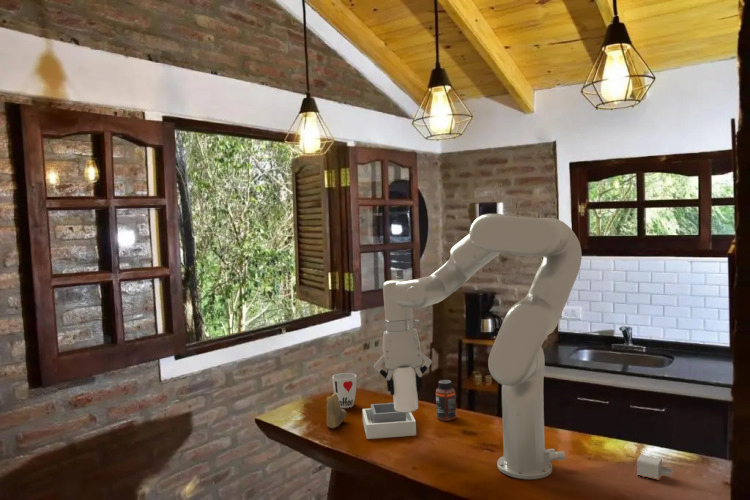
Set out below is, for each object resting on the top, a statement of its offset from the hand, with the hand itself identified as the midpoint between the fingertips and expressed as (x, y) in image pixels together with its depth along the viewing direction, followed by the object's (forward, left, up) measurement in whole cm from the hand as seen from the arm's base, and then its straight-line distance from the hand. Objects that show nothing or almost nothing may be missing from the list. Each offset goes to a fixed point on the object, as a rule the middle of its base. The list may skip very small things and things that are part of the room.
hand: (405, 391), depth 146 cm
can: (0, 0, -5) cm, 5 cm away
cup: (+15, -38, -15) cm, 43 cm away
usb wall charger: (-52, +29, -15) cm, 61 cm away
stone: (+19, -20, -15) cm, 31 cm away
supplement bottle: (-15, -19, -15) cm, 28 cm away
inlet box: (+3, -14, -15) cm, 20 cm away
